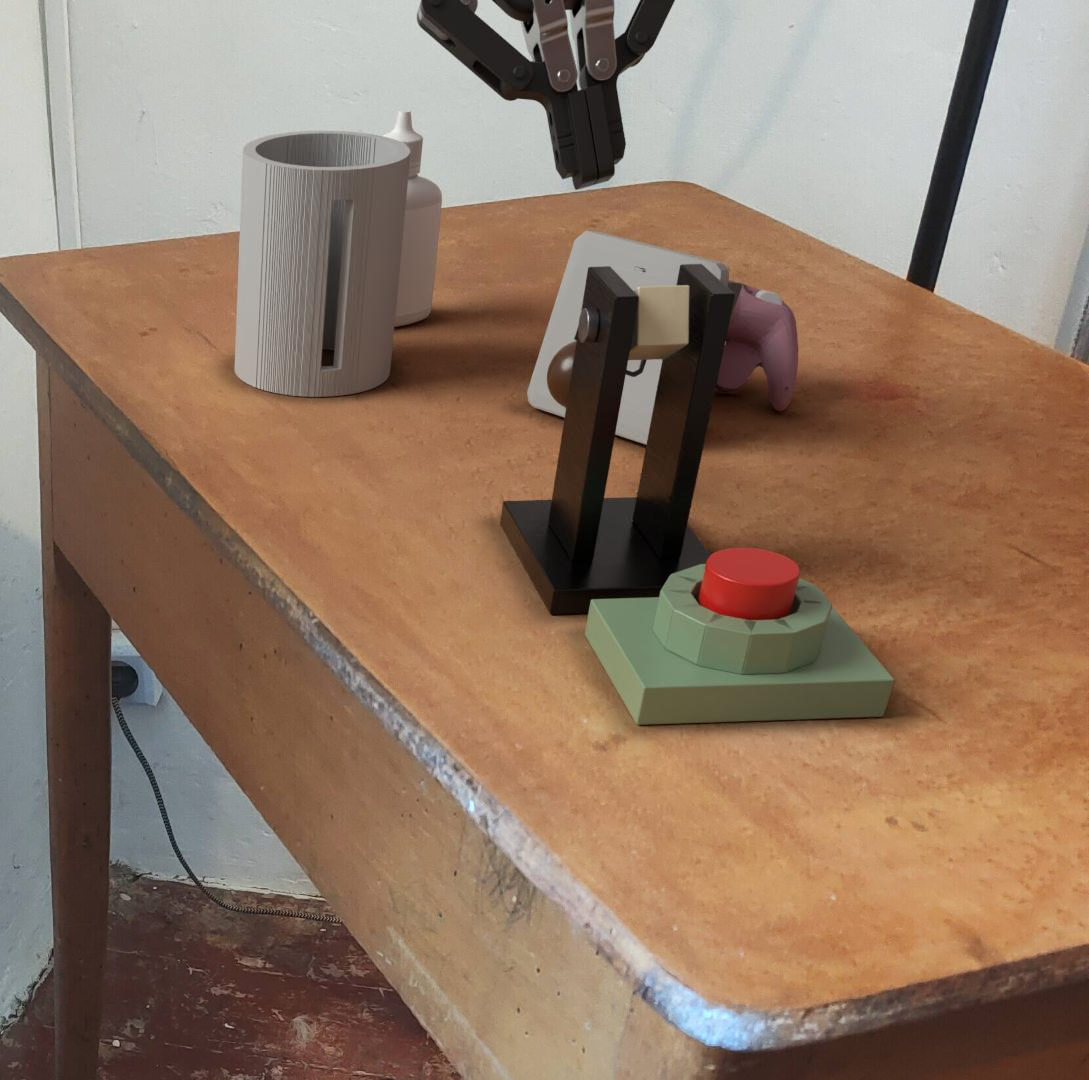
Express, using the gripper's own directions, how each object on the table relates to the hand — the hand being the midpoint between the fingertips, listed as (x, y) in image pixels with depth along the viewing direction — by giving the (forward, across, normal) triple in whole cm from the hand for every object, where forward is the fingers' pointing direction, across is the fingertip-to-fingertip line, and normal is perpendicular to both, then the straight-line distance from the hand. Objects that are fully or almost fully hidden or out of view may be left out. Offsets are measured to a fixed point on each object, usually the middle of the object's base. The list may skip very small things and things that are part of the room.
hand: (595, 181), depth 78 cm
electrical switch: (+10, +3, +17) cm, 20 cm away
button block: (+22, 0, -10) cm, 24 cm away
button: (+19, +1, -11) cm, 22 cm away
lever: (+9, -1, 0) cm, 9 cm away
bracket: (+16, -2, 0) cm, 17 cm away
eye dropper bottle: (0, -7, +33) cm, 34 cm away
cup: (+3, -13, +24) cm, 27 cm away
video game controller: (+10, +8, +21) cm, 25 cm away
